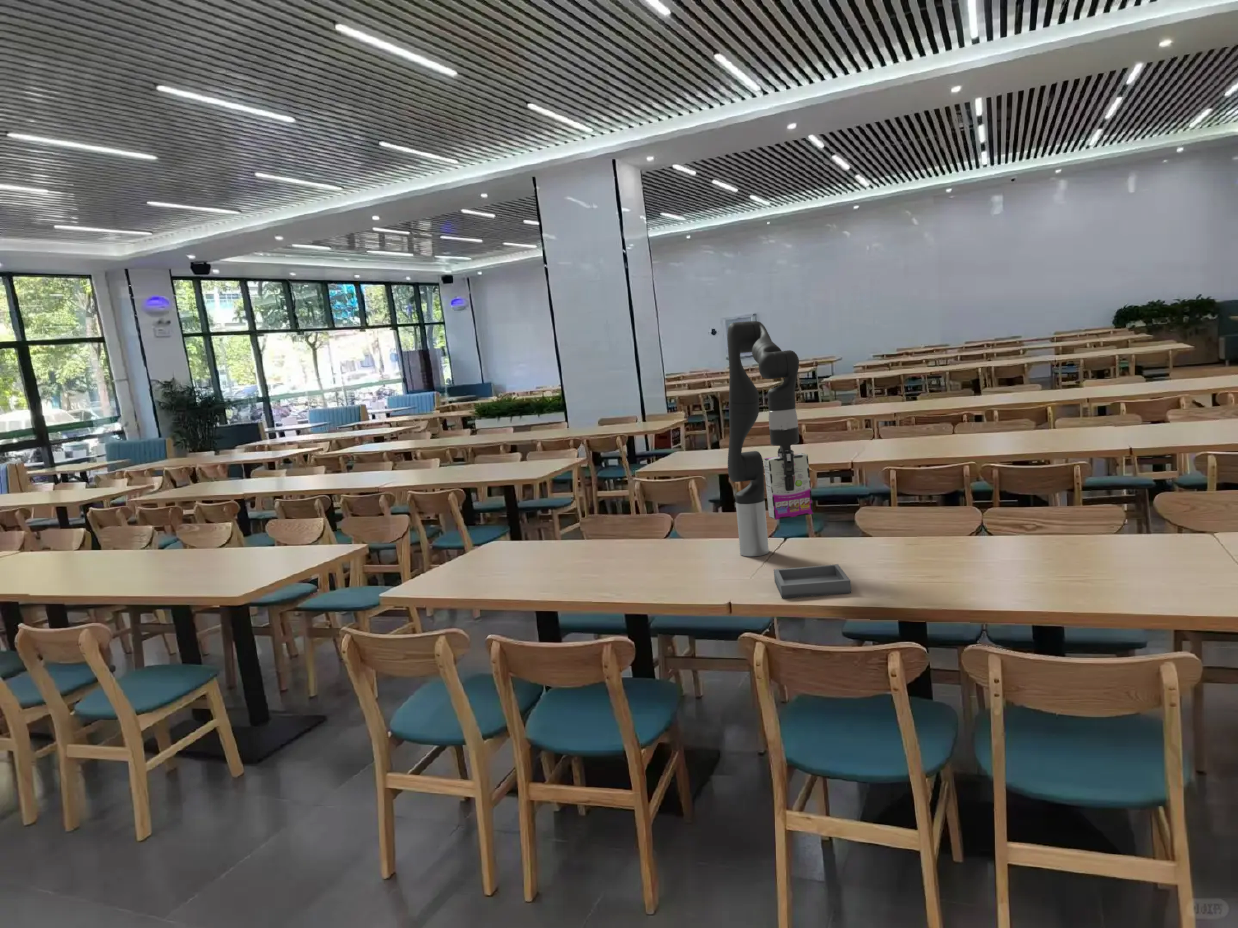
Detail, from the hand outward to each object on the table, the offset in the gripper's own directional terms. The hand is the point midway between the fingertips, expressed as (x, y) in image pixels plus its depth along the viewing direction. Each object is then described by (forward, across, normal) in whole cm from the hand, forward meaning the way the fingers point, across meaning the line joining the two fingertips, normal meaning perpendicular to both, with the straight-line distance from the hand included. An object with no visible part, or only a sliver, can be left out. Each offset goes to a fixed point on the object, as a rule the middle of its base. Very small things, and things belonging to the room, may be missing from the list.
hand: (788, 488), depth 215 cm
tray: (+28, 0, +4) cm, 28 cm away
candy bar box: (+8, 0, 0) cm, 8 cm away
